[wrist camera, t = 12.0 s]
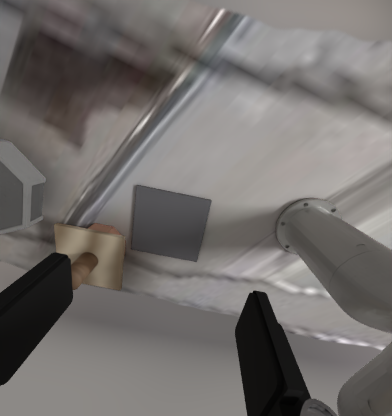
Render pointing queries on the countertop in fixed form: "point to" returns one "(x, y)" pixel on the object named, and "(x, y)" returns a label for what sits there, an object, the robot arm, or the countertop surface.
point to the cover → (92, 255)
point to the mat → (169, 223)
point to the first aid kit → (18, 190)
